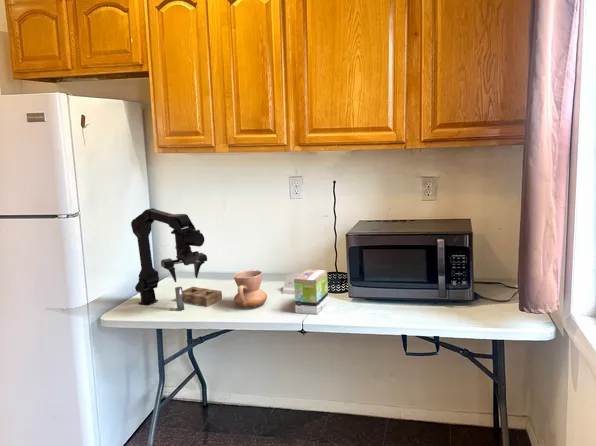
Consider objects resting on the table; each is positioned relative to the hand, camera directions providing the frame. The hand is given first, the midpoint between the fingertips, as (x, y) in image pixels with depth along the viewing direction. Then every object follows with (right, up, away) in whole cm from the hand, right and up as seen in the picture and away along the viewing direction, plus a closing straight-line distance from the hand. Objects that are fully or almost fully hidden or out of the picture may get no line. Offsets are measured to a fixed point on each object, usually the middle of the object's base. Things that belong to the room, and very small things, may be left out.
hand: (186, 279), depth 232 cm
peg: (-3, -13, +4) cm, 14 cm away
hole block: (+3, -11, +15) cm, 19 cm away
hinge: (+49, -8, +18) cm, 53 cm away
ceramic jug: (+27, -12, +4) cm, 30 cm away
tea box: (+54, -11, -4) cm, 55 cm away
